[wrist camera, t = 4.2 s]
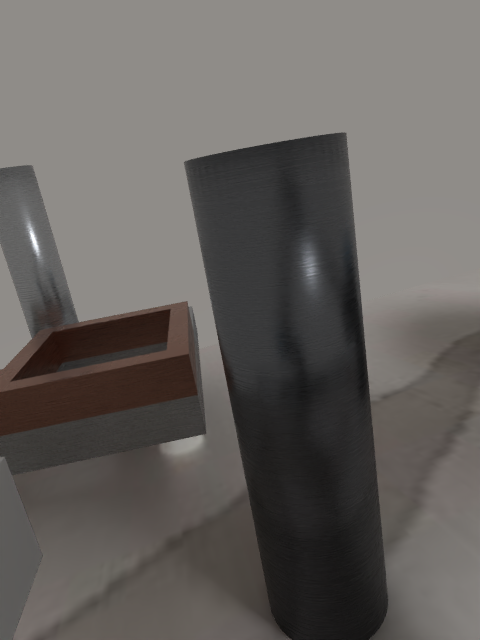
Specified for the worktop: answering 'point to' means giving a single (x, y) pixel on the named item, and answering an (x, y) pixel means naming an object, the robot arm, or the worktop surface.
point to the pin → (297, 375)
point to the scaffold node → (86, 357)
